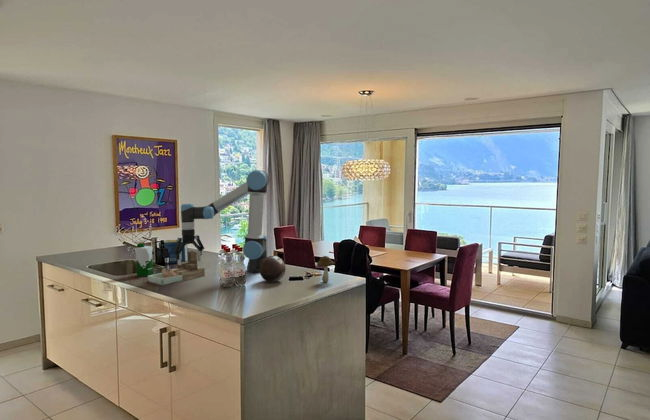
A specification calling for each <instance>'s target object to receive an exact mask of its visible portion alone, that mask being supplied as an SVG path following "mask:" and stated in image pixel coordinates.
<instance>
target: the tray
mask: <svg viewBox="0 0 650 420" xmlns="http://www.w3.org/2000/svg"><path fill="white" fill-rule="evenodd" d="M168 272H169V271H167V273H168ZM147 282H148V283H152V284H155V285H158V286H162V287H163V286H166V285H172V284H176V283H180V282H184V281H183V280H182V275H179V276H174V277H169V278H164V279H163V274H162V272H160V273H155V274H154V273H153V274H152V275H148V276H147Z"/></svg>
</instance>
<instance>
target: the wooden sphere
mask: <svg viewBox="0 0 650 420" xmlns="http://www.w3.org/2000/svg"><path fill="white" fill-rule="evenodd" d="M259 271H260V272H259V275H260V276H261V277H262V279H263V280H265V282H268V283H275V282H279V281H280V280H281V279H282V278H283V277H284V276H285V273H286V263H285V262H284V260H283V259H282V258H280V257H279V256H277V255H269V256H267V257H266V258H265V259H264V260H263V261H262V262H261V264H260V267H259Z"/></svg>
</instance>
